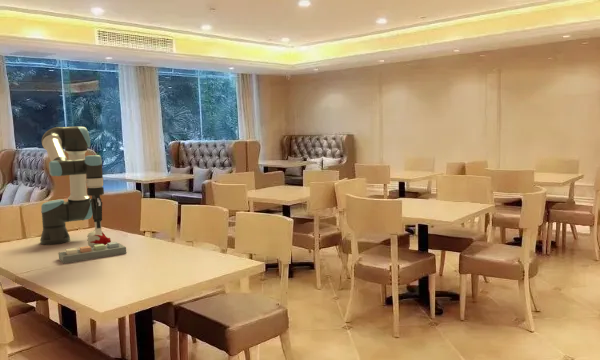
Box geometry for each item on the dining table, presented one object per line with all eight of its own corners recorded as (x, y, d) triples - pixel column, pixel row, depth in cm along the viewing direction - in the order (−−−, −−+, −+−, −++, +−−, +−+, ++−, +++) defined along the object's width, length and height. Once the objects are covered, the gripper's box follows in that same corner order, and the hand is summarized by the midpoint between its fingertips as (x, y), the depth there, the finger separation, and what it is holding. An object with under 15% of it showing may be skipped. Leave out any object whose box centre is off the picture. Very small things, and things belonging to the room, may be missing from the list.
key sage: (93, 250, 252) (93, 245, 251) (103, 248, 254) (102, 243, 254) (96, 251, 248) (95, 246, 248) (105, 250, 251) (105, 245, 250)
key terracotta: (80, 252, 248) (79, 247, 248) (89, 250, 250) (89, 245, 250) (82, 254, 244) (81, 248, 244) (91, 252, 247) (91, 247, 247)
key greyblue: (107, 248, 255) (107, 243, 255) (116, 246, 258) (116, 241, 258) (109, 249, 252) (109, 244, 252) (118, 248, 254) (118, 243, 254)
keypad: (58, 259, 246) (58, 252, 245) (119, 249, 262) (119, 243, 262) (63, 263, 237) (63, 256, 236) (126, 253, 253) (126, 247, 253)
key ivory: (65, 254, 244) (65, 249, 244) (75, 253, 247) (75, 247, 246) (67, 256, 241) (67, 250, 240) (77, 254, 243) (77, 249, 243)
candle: (89, 244, 275) (116, 247, 274) (78, 248, 264) (106, 252, 263) (90, 227, 274) (116, 230, 273) (79, 231, 263) (107, 235, 262)
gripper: (83, 186, 251) (87, 233, 253) (90, 188, 241) (94, 237, 243) (99, 185, 256) (102, 231, 258) (106, 187, 245) (110, 235, 247)
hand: (98, 234), depth 250 cm, fingers closed
